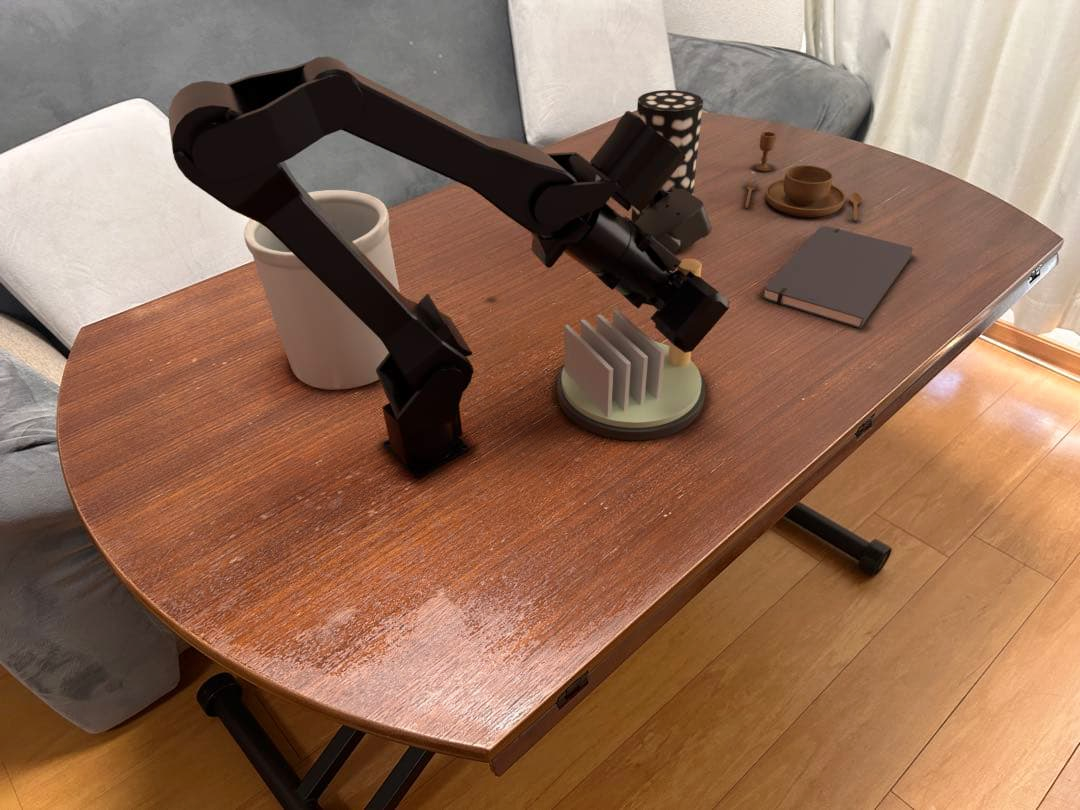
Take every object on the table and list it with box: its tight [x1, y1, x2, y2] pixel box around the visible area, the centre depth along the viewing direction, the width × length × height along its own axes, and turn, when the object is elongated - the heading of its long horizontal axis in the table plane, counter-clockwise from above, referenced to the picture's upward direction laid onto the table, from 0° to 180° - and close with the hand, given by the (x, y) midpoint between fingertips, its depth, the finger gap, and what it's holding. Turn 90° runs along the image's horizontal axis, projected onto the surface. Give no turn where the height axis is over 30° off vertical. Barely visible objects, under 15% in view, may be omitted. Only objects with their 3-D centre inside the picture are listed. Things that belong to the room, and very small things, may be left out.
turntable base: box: [556, 365, 706, 441], centre depth 83 cm, size 16×16×1 cm
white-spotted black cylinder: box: [630, 89, 704, 223], centre depth 103 cm, size 8×8×20 cm
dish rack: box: [562, 258, 703, 428], centre depth 78 cm, size 15×15×13 cm
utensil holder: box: [243, 189, 401, 391], centre depth 84 cm, size 15×15×18 cm
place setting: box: [745, 131, 863, 221], centre depth 119 cm, size 18×20×6 cm
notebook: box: [762, 225, 914, 329], centre depth 100 cm, size 13×2×21 cm
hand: (696, 315), depth 81 cm, fingers closed on dish rack, 2 cm apart
